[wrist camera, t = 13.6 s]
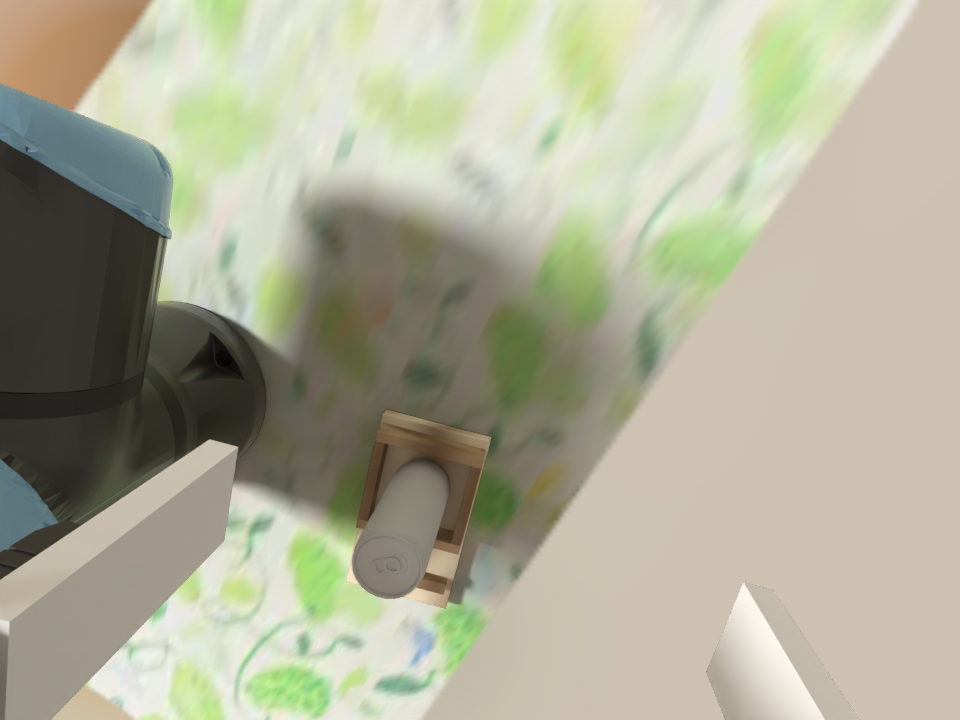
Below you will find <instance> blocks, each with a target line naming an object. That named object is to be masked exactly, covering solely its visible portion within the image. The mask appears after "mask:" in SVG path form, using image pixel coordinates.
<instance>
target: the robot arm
mask: <svg viewBox="0 0 960 720" xmlns="http://www.w3.org/2000/svg"><path fill="white" fill-rule="evenodd" d="M172 188H173V174H172V170H171V167H170V164H169V162H168V160H167V159H166V157H165V156H164V155H163V154H162V153H161V152H160V151H159V150H158V149H157V148H156V147H155V146H153V145H152V144H150V143H149V142H147V141H145V140H143V139H140V138H138V137H135V136H133V135H130V134H128V133H125V132H123V131H121V130H118V129H116V128H113V127H111V126H108V125H106V124H103V123H100V122H98V121H95V120H93V119H90V118H88V117H85V116H83V115H80V114H78V113H75V112H73V111H70V110H68V109H65V108H63V107H60V106H57V105H55V104H52V103H50V102H47V101H45V100H42V99H39V98H37V97H34V96H32V95H29V94H27V93H24V92H22V91H19V90H16V89H14V88H11V87H9V86H6V85H3V84H1V83H0V720H51V719H52V718H53V717H54V716H55V715H56V714H57V713H58V712H59V711H60V710H61V709H62V708H63V707H64V706H65V705H66V704H67V702H69V701H70V699H71V698H72V697H73V696H74V695H75V694H76V693H77V692H78V691H79V690H80V689H81V688H82V687H83V686H84V685H85V684H86V683H87V682H88V681H89V680H90V679H91V678H92V677H93V676H94V675H95V674H96V673H97V672H98V671H99V670H100V669H101V668H102V666H103V665H104V664H105V663H106V662H107V661H108V660H109V659H110V658H111V657H112V656H113V655H114V654H115V653H116V652H117V651H118V650H119V649H120V648H121V647H122V646H123V645H124V644H125V643H126V642H127V641H128V640H129V639H130V638H131V637H132V635H133V634H134V633H135V632H136V631H137V630H138V629H139V628H140V627H141V626H142V625H143V624H144V623H145V622H146V621H147V620H148V619H149V618H150V617H151V616H152V615H153V614H154V613H155V612H156V611H157V610H158V609H159V608H160V607H161V606H162V604H163V603H164V602H165V601H166V600H167V599H168V598H169V597H170V596H171V595H172V594H173V593H174V592H175V591H176V590H177V589H178V588H179V587H180V586H181V585H182V584H183V583H184V582H185V581H186V580H187V579H188V578H189V577H190V576H191V574H192V573H193V572H194V571H195V570H196V569H197V568H198V567H199V566H200V565H201V564H202V563H203V562H204V561H205V560H206V559H207V558H208V557H209V556H210V555H211V554H212V553H213V552H214V551H215V550H216V549H217V548H218V547H219V546H220V545H221V543H222V542H223V541H224V539H225V533H226V526H227V519H228V513H229V506H230V499H231V493H232V486H233V480H234V473H235V466H236V460H237V459H238V458H239V457H240V456H241V455H243V454H244V453H245V452H246V451H247V449H248V448H249V447H250V446H251V445H252V443H253V442H254V440H255V438H256V437H257V435H258V433H259V431H260V428H261V425H262V422H263V419H264V414H265V404H266V395H265V386H264V381H263V377H262V373H261V370H260V367H259V365H258V363H257V360H256V358H255V356H254V355H253V353H252V351H251V349H250V348H249V346H248V345H247V344H246V342H245V341H244V340H243V338H242V337H241V336H240V335H239V334H238V333H237V332H236V331H235V330H234V329H233V328H232V327H231V326H230V325H229V324H227V323H226V322H225V321H223V320H222V319H221V318H219V317H218V316H216V315H214V314H213V313H211V312H209V311H207V310H205V309H203V308H200V307H197V306H194V305H191V304H187V303H182V302H175V301H160V302H157V299H158V293H159V287H160V281H161V275H162V269H163V263H164V257H165V252H166V246H167V240H168V239H171V235H172V233H171V230H170V228H169V216H170V207H171V197H172ZM706 672H707V675H708V677H709V680H710V682H711V685H712V687H713V690H714V693H715V695H716V698H717V700H718V703H719V705H720V708H721V711H722V713H723V716H724V718H725V720H859V719H858V717H857V716H856V714H855V713H854V711H853V709H852V708H851V706H850V705H849V703H848V702H847V701H846V699H845V697H844V696H843V694H842V693H841V691H840V690H839V689H838V687H837V686H836V684H835V682H834V681H833V679H832V678H831V676H830V675H829V673H828V672H827V670H826V669H825V667H824V666H823V664H822V663H821V661H820V660H819V658H818V657H817V655H816V654H815V652H814V651H813V649H812V648H811V646H810V645H809V643H808V642H807V640H806V638H805V637H804V635H803V634H802V633H801V631H800V629H799V628H798V626H797V625H796V624H795V622H794V620H793V619H792V617H791V616H790V614H789V613H788V611H787V610H786V608H785V607H784V605H783V604H782V602H781V601H780V599H779V598H778V596H777V595H776V593H775V592H774V590H770V589H767V588H763V587H759V586H756V585H752V584H748V583H743V585H742V587H741V589H740V592H739V594H738V596H737V599H736V602H735V604H734V606H733V609H732V611H731V613H730V616H729V618H728V621H727V623H726V626H725V628H724V630H723V633H722V635H721V638H720V640H719V642H718V645H717V647H716V650H715V652H714V655H713V657H712V659H711V662H710V664H709V667H708V669H707V671H706Z"/></svg>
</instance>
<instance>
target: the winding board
mask: <svg viewBox="0 0 960 720" xmlns="http://www.w3.org/2000/svg"><path fill="white" fill-rule="evenodd" d="M490 441H491V437H489V436H485V435H481V434H477V433H474V432H470V431H466V430H462V429H458V428H455V427H451V426H447V425H443V424H439V423H436V422H432V421H428V420H424V419H421V418H417V417H413V416H409V415H405V414H402V413H398V412H394V411H390V410H385V411H384V413H383V414H382V419H381V423H380V428H379V429H378V430H377V432H376V437H375V442H374V446H373V451H372V456H371V460H370V465H369V470H368V474H367V479H366V484H365V488H364V493H363V498H362V502H361V507H360V512H359V516H358V521H357V526H356V527H357V528H358V530H357V535H356V539H355V544H354V547H355V545H356V543H357V541H358V539H359V537H360V536H361V534H362V532H363V530H364V528H365V527H366V525H367V523H368V521H369V519H370V518H371V516H372V514H373V512H374V511H375V509H376V507H377V505H378V503H379V501H380V500H381V498H382V496H383V494H384V492H385V490H386V489H387V487H388V485H389V483H390V481H391V479H392V478H393V476H394V474H395V472H396V471H397V470H398V469H399V468H400V467H401V466H402V465H404V464H405V463H407V462H409V461H412V460H415V459H424V460H428V461H431V462H433V463H435V464H437V465H438V466H439V467H440V468H442V469H443V471H444V472H445V474H446V475H447V477H448V480H449V484H450V492H449V496H448V500H447V503H446V506H445V510H444V513H443V516H442V520H441V523H440V526H439V530H438V533H437V536H436V540H435V543H434V546H433V549H432V553H431V556H430V559H429V563H428V566H427V569H426V573H425V575H424V576H423V578H422V580H421V581H420V582H419V584H418V586H417V587H416V588H415V589H414V590H413V591H412V592H411V593H409V594H407V595H405V596H403V597H405V598H408V599H412V600H416V601H419V602H423V603H427V604H430V605H434V606H438V607H441V608H445V609H446V606H447V602H448V598H449V594H450V591H451V587H452V583H453V580H454V576H455V572H456V568H457V565H458V561H459V557H460V553H461V550H462V546H463V542H464V539H465V535H466V531H467V527H468V524H469V520H470V516H471V512H472V509H473V505H474V501H475V498H476V494H477V490H478V486H479V483H480V479H481V475H482V471H483V468H484V464H485V460H486V457H487V453H488V449H489V445H490ZM353 553H354V549H353ZM353 553H352V557H353ZM346 582H350V583H353V584H357V585H360V584H359V583H358V581H357V580H356V578H355V576H354V573H353V571H352V558H351V563H350V567H349V572H348V577H347V581H346Z"/></svg>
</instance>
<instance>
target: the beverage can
mask: <svg viewBox="0 0 960 720" xmlns="http://www.w3.org/2000/svg"><path fill="white" fill-rule="evenodd" d="M449 492H450V484H449V480H448V477H447V475H446V474H445V472H444V471H443V469H442V468H440V467H439V466H438V465H437V464H435V463H433V462H431V461H428V460H424V459H415V460H412V461H409V462H407V463H405V464H404V465H402V466H401V467H400V468H399V469H398V470H397V471H396V472H395V474H394V476H393V478H392V479H391V481H390V483H389V485H388V487H387V489H386V490H385V492H384V494H383V496H382V498H381V500H380V501H379V503H378V505H377V507H376V509H375V511H374V512H373V514H372V516H371V518H370V519H369V521H368V523H367V525H366V527H365V528H364V530H363V532H362V534H361V536H360V537H359V539H358V541H357V543H356V545H355V547H354V553H353V557H352V571H353V573H354V576H355V578H356V580H357V581H358V583H359V584H360V585H361V587H363V588H364V589H365V590H366V591H367V592H369V593H371V594H373V595H375V596H377V597H381V598H385V599H395V598H399V597H403V596H405V595H407V594H409V593H411V592H412V591H413V590H414V589H415V588H416V587H417V586H418V584H419V582H420V581H421V580H422V578H423V576H424V575H425V573H426V569H427V566H428V563H429V559H430V556H431V553H432V549H433V546H434V543H435V540H436V536H437V533H438V530H439V526H440V523H441V520H442V516H443V513H444V510H445V506H446V503H447V500H448V496H449Z"/></svg>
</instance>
